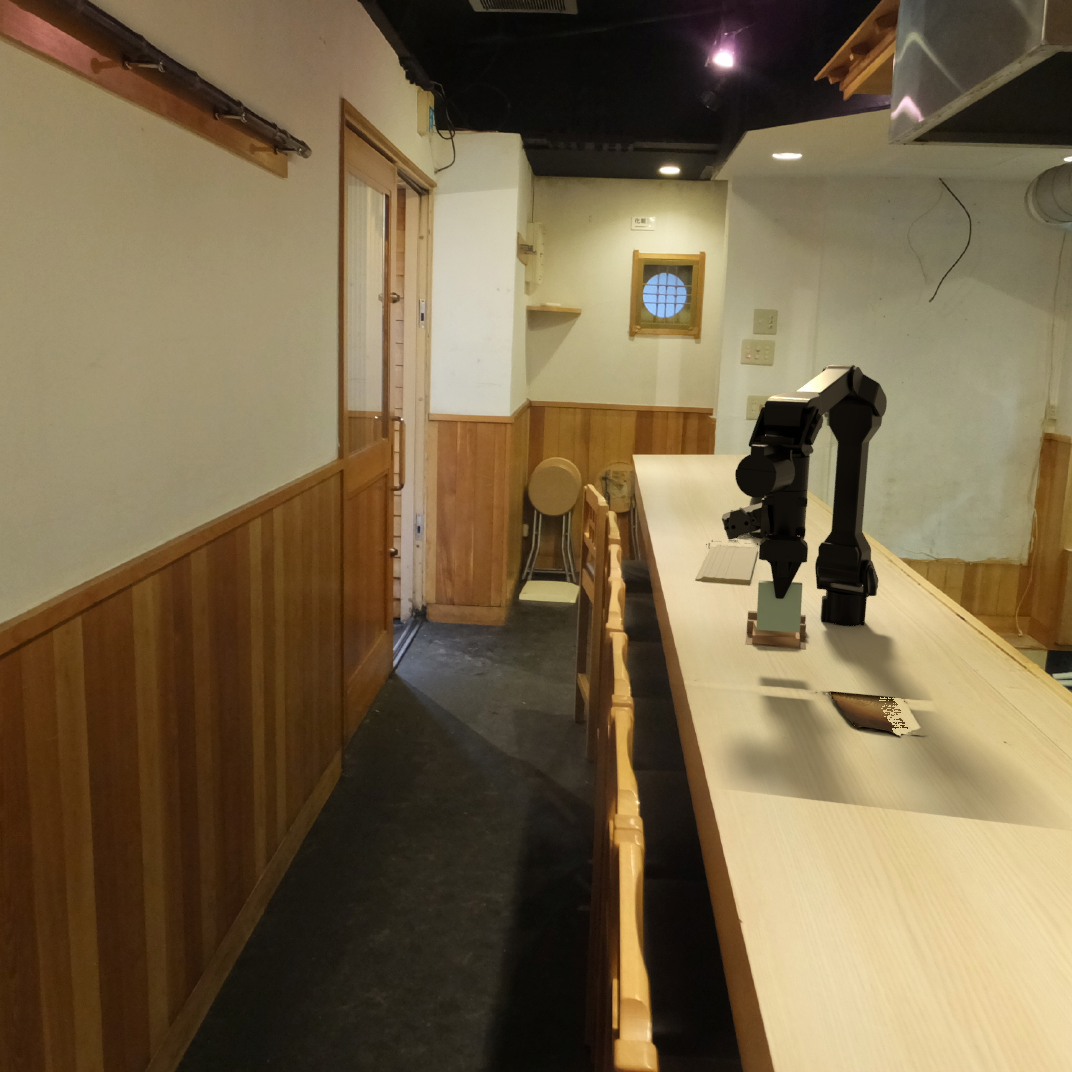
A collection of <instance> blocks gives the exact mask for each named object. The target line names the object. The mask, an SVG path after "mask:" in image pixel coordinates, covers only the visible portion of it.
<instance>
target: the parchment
mask: <svg viewBox="0 0 1072 1072" xmlns="http://www.w3.org/2000/svg"><path fill="white" fill-rule="evenodd" d="M829 694H830V696H831V700H833V701H834V702H835V703H836V705H837V706H838V707H839V709H841V712H842V713H843V714H844V716H845V717H846V718H847V720H849V721H850V723H851V724H852V725H853V726H854V728H858V729H859V728H863V727H866V728H870V729H876V730H880V731H881V730H882V731H883V730H884V731H887V732H890V733H893V730H892V728H895V729H896V728H899V727H894V726H895V725H892V723H891V722H889V721H888V719H887V716H888V715H890V712H885V713H887V714H885V713H884V712H883V710H886V709H887V708H891V709H887V711H891V712H893V710H892V709H894V708H895V707H892V706H893V705H894V706H895V705H896V706H897V705H898V704H897V703H896V702H895V701H893V700H894V699H892V698H893V697H894V698H895V697H896V696H887V695H886V696H885V695H874V694H865V693H864V694H862V693H852V692H841V691H832V690H829ZM880 697H881V698H884V697H885V698H887V699H880ZM888 697H889V698H891V699H888ZM879 700H886V701H879ZM888 700H889V701H888ZM885 703H886V704H885ZM893 703H894V704H893ZM895 703H896V704H895ZM884 705H885V707H882V706H884ZM886 705H887V706H886ZM889 705H891V707H888V706H889ZM881 708H883V709H881ZM895 710H898V711H901V710H900V709H894V711H895ZM888 713H889V714H888ZM894 713H896V715H898V714H897V713H901V712H894ZM894 715H895V714H894ZM894 715H892V714H891V716H894ZM884 716H886V717H884ZM890 718H892V717H890ZM889 720H890V719H889ZM894 720H895V719H894ZM896 720H900V721H902V722H898V724H899V723H902V724H905V722H903V720H902V719H901V718H899V719H896ZM893 723H895V722H893ZM895 724H897V722H896V723H895ZM896 726H897V725H896ZM900 726H902V728H907V729H908V727H904V726H905V725H900ZM900 728H901V727H900Z"/></svg>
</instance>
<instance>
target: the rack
mask: <svg viewBox="0 0 1072 1072" xmlns="http://www.w3.org/2000/svg"><path fill="white" fill-rule="evenodd" d="M806 618H807V617H806V614H801V621H800V633H799V635H800V643H799V647H794V646H782V645H770V644H758V643H752V636H753V622H754V621H757V610H748V611H747V618H746V620H747V621H746V635H745V644H744V645H747V646H760V647H761V646H762V647H770V648H771V647H773V648H784V649H794V650H795V649H796V650H797V649H798V650H807V644H806V633H807V632H806V629H807V623H806Z"/></svg>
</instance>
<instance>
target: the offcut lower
mask: <svg viewBox="0 0 1072 1072" xmlns="http://www.w3.org/2000/svg"><path fill="white" fill-rule="evenodd" d="M752 643H758V644H770V645H782V646H794V647H799V643H800V635H799V633H797V632H796V637H785V636H761V635H755V632H754V630H753V636H752Z"/></svg>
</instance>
